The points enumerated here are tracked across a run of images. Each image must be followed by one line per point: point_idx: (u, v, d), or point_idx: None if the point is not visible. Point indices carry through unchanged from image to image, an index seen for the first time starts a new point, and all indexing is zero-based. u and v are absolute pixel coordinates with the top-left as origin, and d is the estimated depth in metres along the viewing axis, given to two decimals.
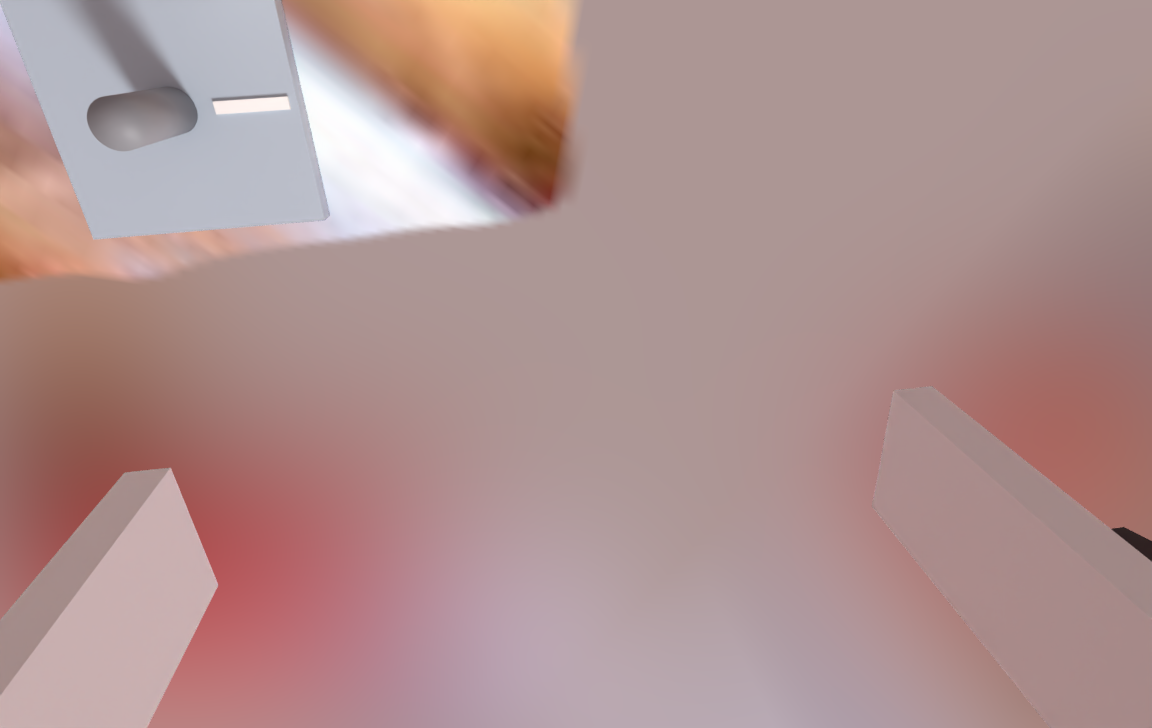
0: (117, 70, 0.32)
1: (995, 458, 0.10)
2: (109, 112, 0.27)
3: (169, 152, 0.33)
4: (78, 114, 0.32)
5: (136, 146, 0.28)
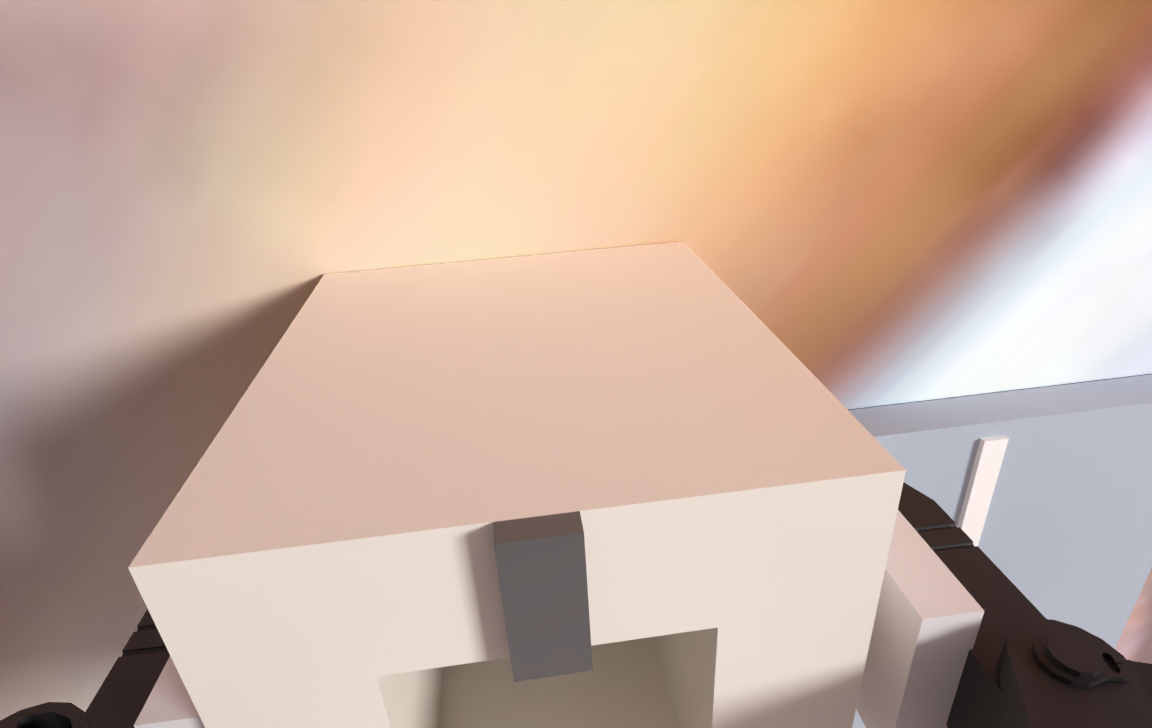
0: None
1: None
2: None
3: None
4: None
5: None
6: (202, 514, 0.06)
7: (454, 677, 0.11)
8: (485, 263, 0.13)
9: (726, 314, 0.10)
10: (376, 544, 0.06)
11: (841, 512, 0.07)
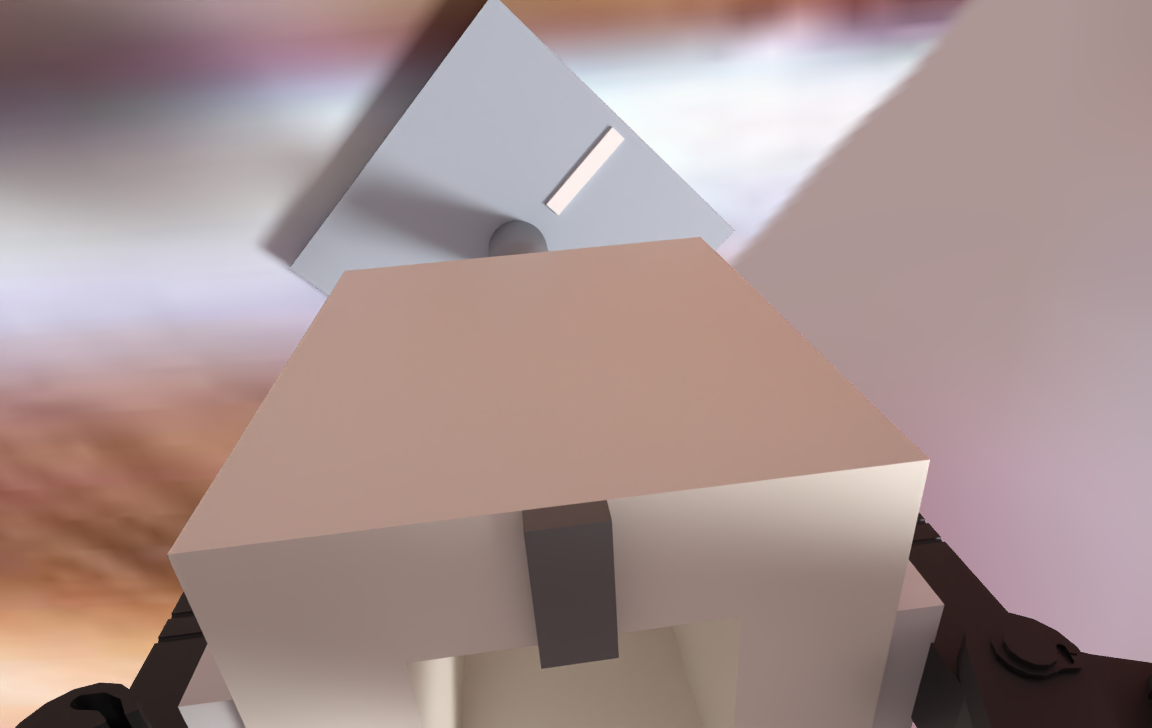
0: (444, 256, 0.25)
1: None
2: None
3: None
4: None
5: None
6: (236, 503, 0.07)
7: (475, 668, 0.11)
8: (503, 259, 0.13)
9: (745, 307, 0.10)
10: (407, 532, 0.06)
11: (865, 501, 0.07)
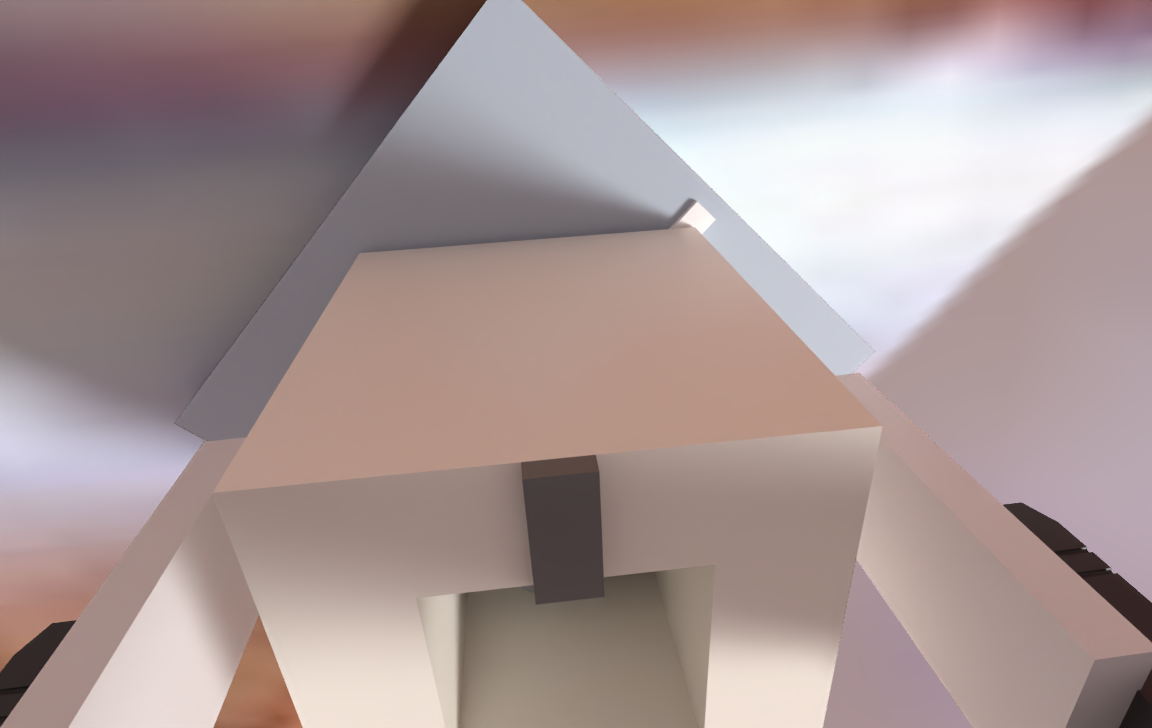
0: None
1: (905, 439, 0.11)
2: None
3: None
4: None
5: None
6: (271, 452, 0.07)
7: (476, 621, 0.12)
8: (508, 245, 0.14)
9: (731, 293, 0.11)
10: (421, 479, 0.07)
11: (825, 463, 0.07)
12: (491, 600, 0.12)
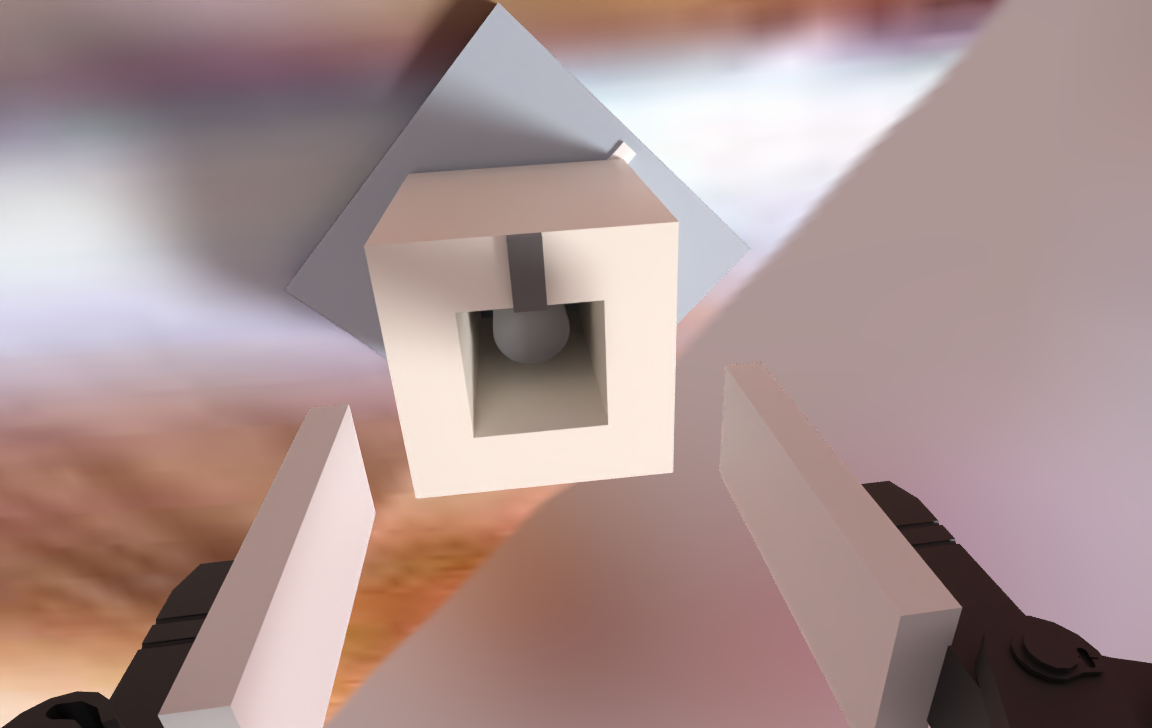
0: None
1: (786, 422, 0.11)
2: (517, 322, 0.19)
3: None
4: None
5: (567, 336, 0.19)
6: (386, 236, 0.15)
7: (483, 386, 0.20)
8: (503, 168, 0.22)
9: (630, 184, 0.19)
10: (459, 243, 0.15)
11: (653, 241, 0.15)
12: (492, 378, 0.20)
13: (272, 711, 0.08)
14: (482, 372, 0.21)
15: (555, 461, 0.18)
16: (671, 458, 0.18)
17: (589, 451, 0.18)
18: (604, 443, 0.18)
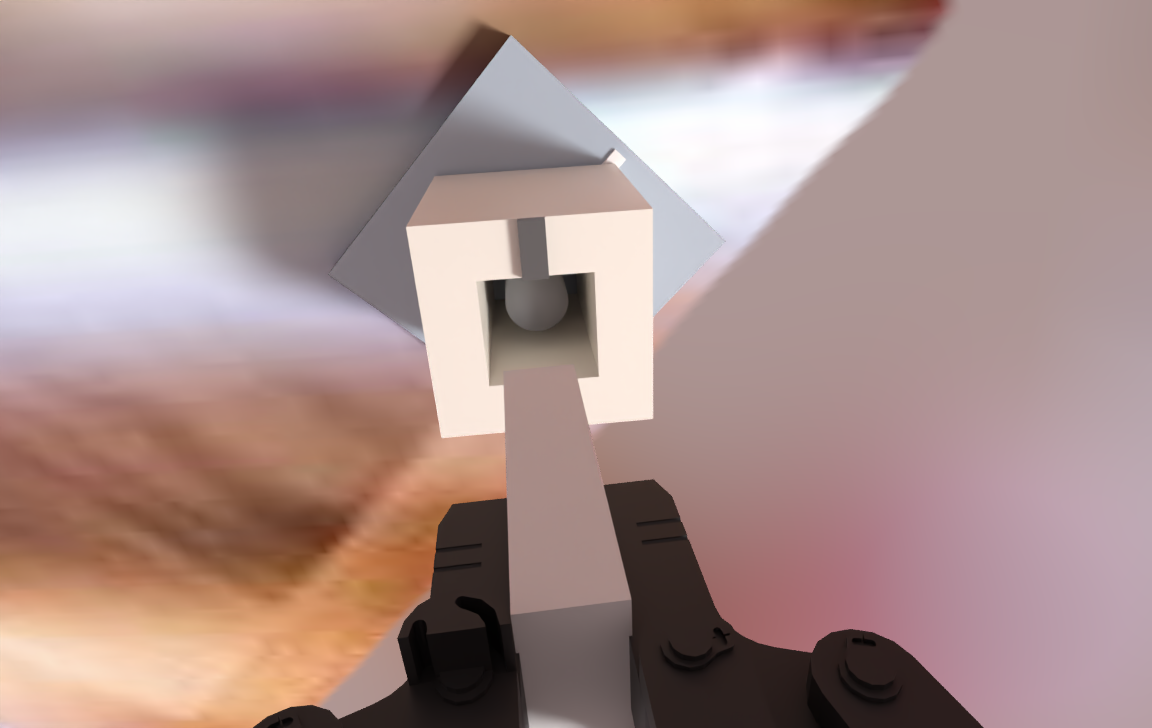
0: None
1: (566, 422, 0.12)
2: (525, 295, 0.23)
3: None
4: None
5: (566, 307, 0.23)
6: (422, 220, 0.20)
7: (496, 350, 0.24)
8: (514, 171, 0.26)
9: (618, 182, 0.23)
10: (480, 225, 0.19)
11: (633, 224, 0.20)
12: (504, 344, 0.24)
13: None
14: (495, 340, 0.25)
15: None
16: (651, 406, 0.22)
17: (583, 399, 0.22)
18: (596, 392, 0.22)
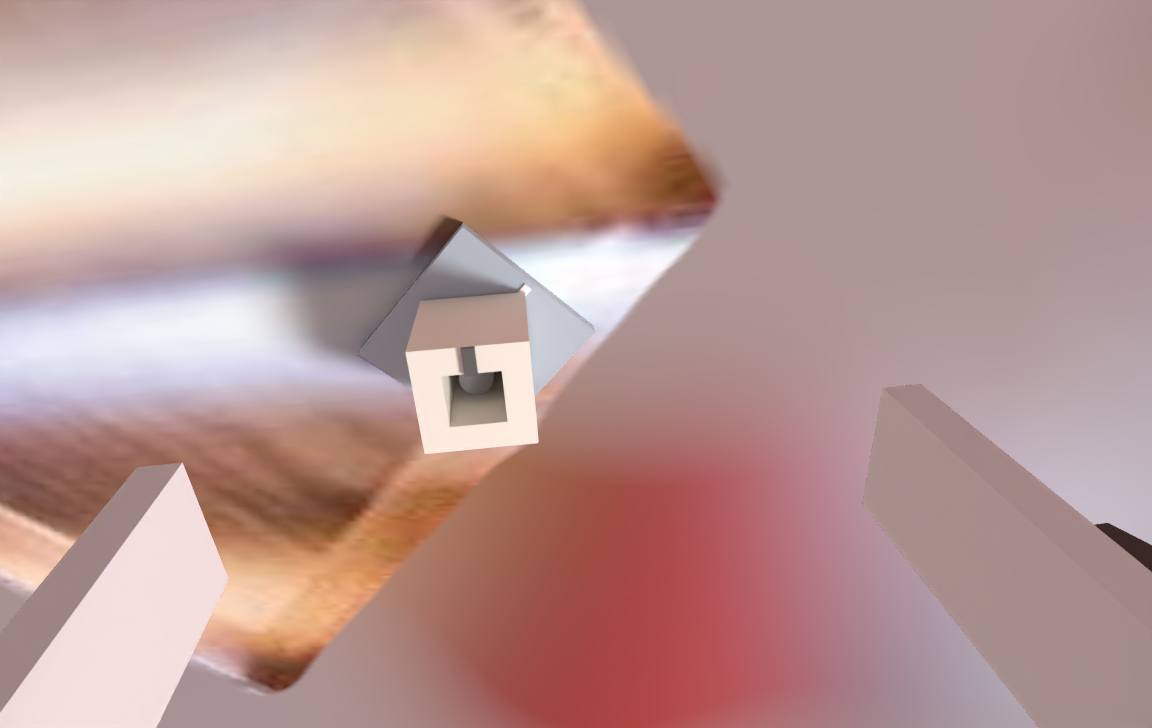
0: None
1: (981, 455, 0.10)
2: (469, 376, 0.42)
3: None
4: None
5: (492, 381, 0.43)
6: (413, 346, 0.39)
7: (455, 404, 0.43)
8: (466, 298, 0.45)
9: (520, 314, 0.42)
10: (442, 350, 0.38)
11: (519, 348, 0.39)
12: (459, 400, 0.44)
13: None
14: (455, 397, 0.44)
15: (485, 437, 0.41)
16: (537, 436, 0.42)
17: (500, 433, 0.41)
18: (506, 429, 0.41)
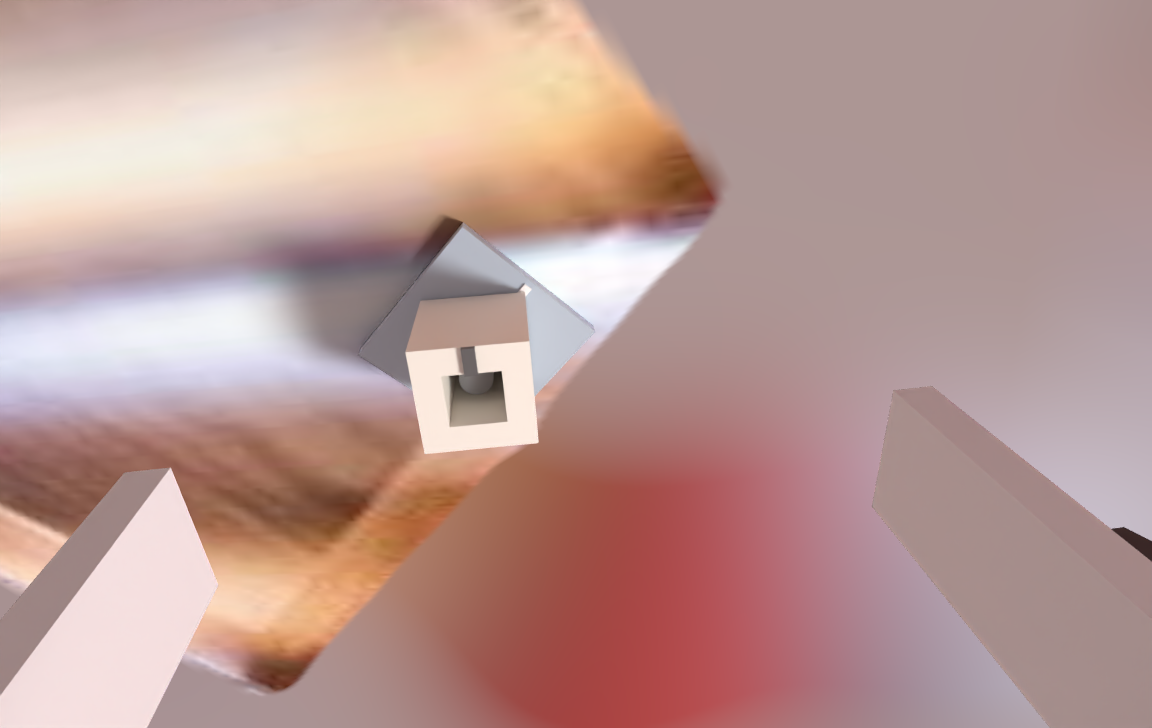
0: None
1: (995, 458, 0.10)
2: (469, 376, 0.42)
3: None
4: None
5: (492, 382, 0.43)
6: (413, 346, 0.39)
7: (455, 404, 0.43)
8: (466, 298, 0.45)
9: (520, 314, 0.42)
10: (442, 350, 0.38)
11: (519, 348, 0.39)
12: (459, 400, 0.44)
13: None
14: (455, 397, 0.44)
15: (485, 437, 0.41)
16: (537, 436, 0.42)
17: (500, 433, 0.41)
18: (506, 429, 0.41)
